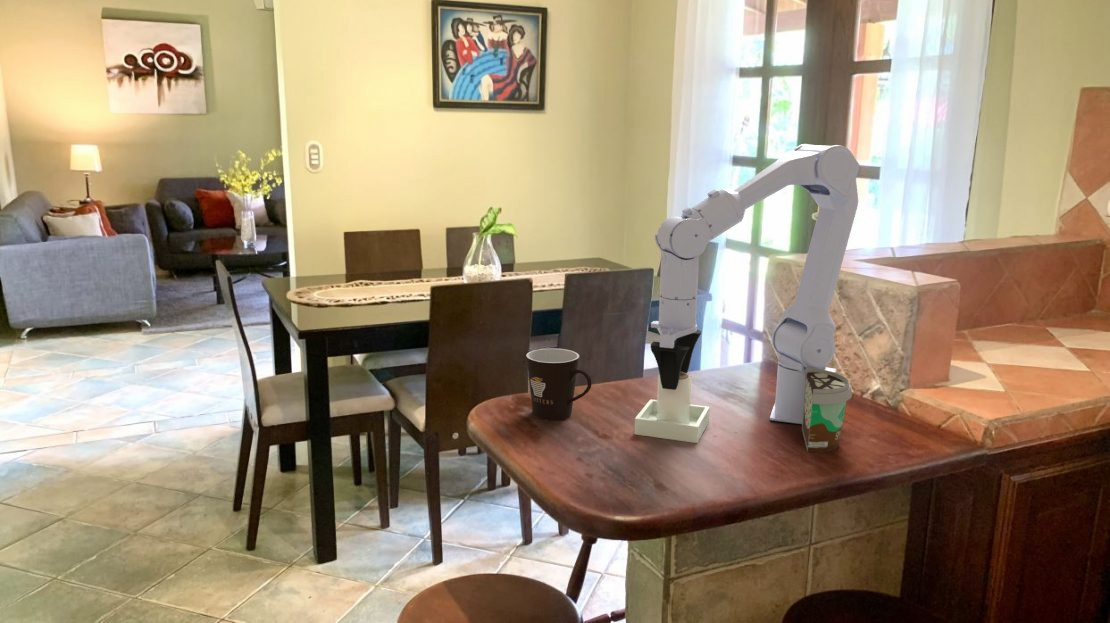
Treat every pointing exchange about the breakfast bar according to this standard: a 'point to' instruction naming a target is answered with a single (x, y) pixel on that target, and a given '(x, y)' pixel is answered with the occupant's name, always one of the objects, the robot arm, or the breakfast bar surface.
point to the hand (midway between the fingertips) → (674, 381)
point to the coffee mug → (553, 382)
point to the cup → (675, 401)
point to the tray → (672, 424)
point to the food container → (824, 409)
